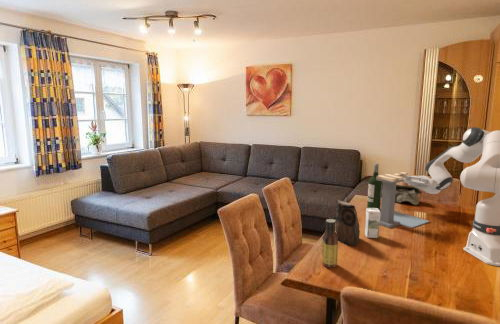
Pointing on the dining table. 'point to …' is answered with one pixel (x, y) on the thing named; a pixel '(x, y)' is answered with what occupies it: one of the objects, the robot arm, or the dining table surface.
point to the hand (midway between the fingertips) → (412, 177)
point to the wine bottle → (374, 190)
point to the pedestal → (388, 204)
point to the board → (393, 176)
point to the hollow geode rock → (406, 194)
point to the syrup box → (372, 222)
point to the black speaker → (347, 223)
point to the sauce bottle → (330, 245)
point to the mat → (408, 220)
